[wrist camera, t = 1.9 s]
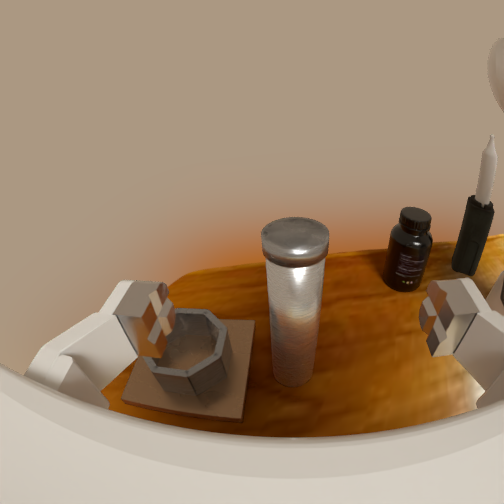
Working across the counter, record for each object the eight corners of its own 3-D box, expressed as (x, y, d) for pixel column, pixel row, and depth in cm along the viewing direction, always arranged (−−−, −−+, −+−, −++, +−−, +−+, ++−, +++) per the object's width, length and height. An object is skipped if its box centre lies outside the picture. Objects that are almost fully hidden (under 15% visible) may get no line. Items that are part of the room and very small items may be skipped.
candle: (451, 270, 41) (481, 132, 28) (452, 256, 45) (476, 128, 31) (474, 277, 39) (508, 141, 25) (473, 262, 42) (502, 136, 29)
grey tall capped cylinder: (313, 353, 32) (325, 216, 22) (315, 388, 28) (333, 250, 18) (272, 353, 33) (263, 217, 23) (269, 388, 29) (258, 251, 19)
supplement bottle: (380, 266, 45) (390, 201, 38) (415, 269, 43) (430, 205, 37) (384, 292, 39) (399, 222, 33) (423, 295, 38) (444, 226, 31)
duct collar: (255, 326, 37) (252, 297, 34) (242, 422, 25) (235, 401, 22) (159, 321, 39) (148, 294, 36) (125, 403, 27) (105, 380, 24)
